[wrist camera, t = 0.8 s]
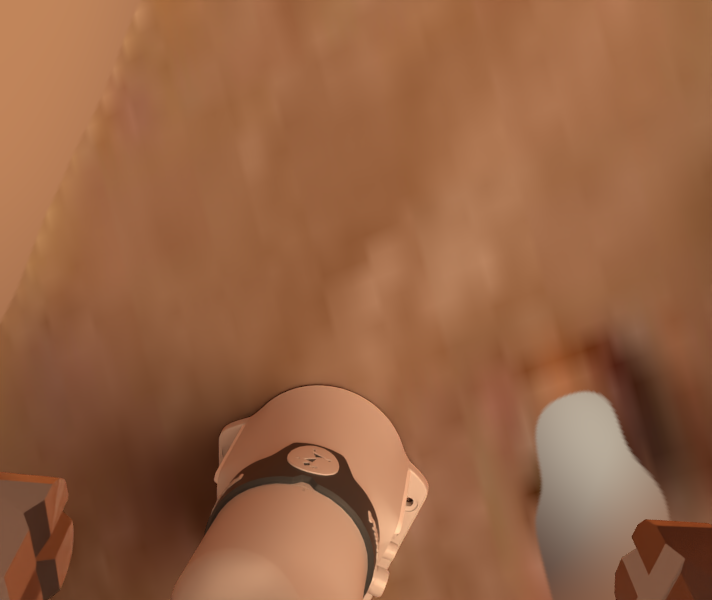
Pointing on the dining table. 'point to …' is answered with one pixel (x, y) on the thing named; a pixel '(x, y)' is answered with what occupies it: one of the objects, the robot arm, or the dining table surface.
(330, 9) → the dining table surface
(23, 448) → the dining table surface
